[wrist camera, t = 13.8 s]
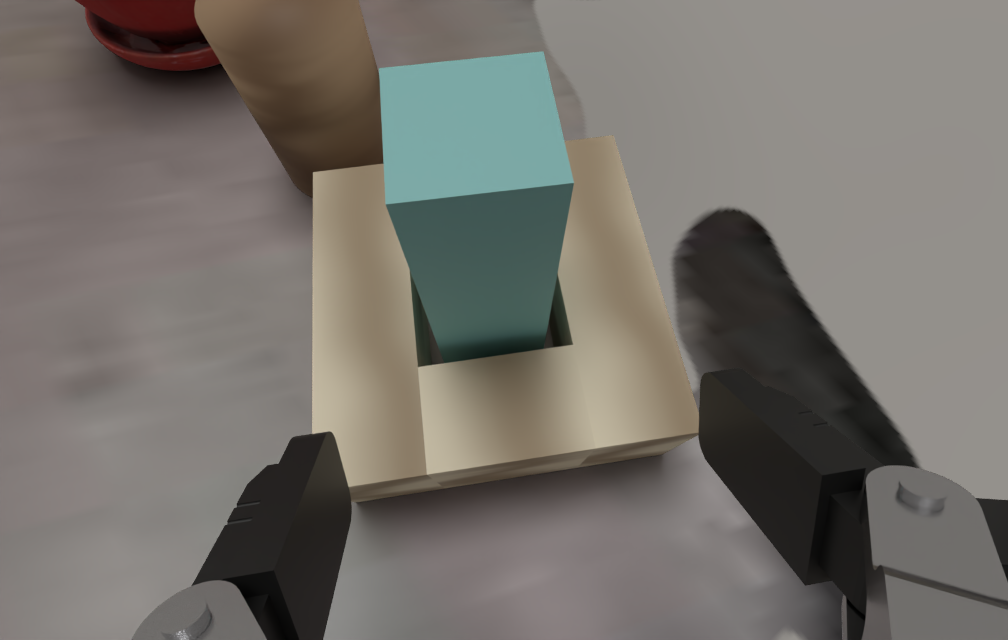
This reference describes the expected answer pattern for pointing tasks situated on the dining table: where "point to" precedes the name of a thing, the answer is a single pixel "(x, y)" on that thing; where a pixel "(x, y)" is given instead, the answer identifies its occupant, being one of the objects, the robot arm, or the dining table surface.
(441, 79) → the square peg
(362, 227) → the socket block
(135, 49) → the plant pot
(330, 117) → the tan cylinder
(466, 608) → the dining table surface
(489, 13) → the dining table surface
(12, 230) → the dining table surface
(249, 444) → the dining table surface
